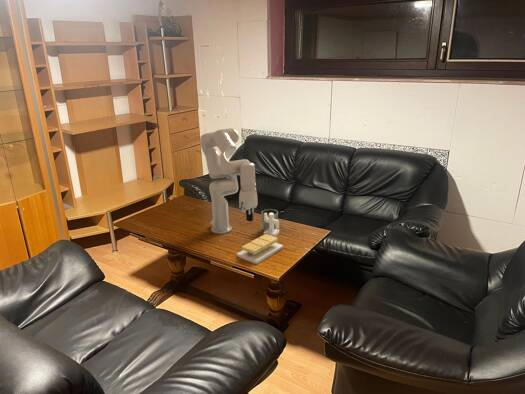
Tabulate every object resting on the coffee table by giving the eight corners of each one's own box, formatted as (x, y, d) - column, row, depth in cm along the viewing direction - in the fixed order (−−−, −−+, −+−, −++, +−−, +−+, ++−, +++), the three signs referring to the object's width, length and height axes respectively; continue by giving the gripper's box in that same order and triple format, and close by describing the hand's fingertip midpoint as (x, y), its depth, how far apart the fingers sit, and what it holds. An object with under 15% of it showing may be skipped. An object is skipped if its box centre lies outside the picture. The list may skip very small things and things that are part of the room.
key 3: (241, 249, 208) (241, 246, 207) (249, 245, 212) (249, 242, 211) (254, 254, 202) (254, 251, 201) (262, 250, 206) (261, 246, 206)
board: (236, 256, 209) (236, 249, 208) (264, 241, 226) (264, 235, 225) (256, 264, 201) (256, 257, 200) (283, 247, 217) (283, 241, 216)
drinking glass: (276, 234, 235) (276, 215, 231) (260, 232, 237) (259, 214, 232) (279, 227, 244) (279, 209, 240) (263, 226, 246) (263, 208, 242)
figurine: (276, 240, 226) (275, 216, 221) (261, 237, 230) (261, 214, 225) (281, 236, 232) (281, 212, 227) (267, 233, 236) (267, 210, 231)
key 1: (258, 240, 218) (258, 237, 217) (265, 236, 222) (265, 233, 221) (271, 244, 212) (271, 241, 211) (278, 240, 216) (278, 237, 216)
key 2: (250, 244, 213) (250, 241, 212) (257, 241, 217) (257, 237, 216) (263, 249, 207) (263, 246, 206) (270, 245, 211) (270, 242, 211)
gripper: (251, 182, 206) (253, 214, 212) (232, 189, 195) (234, 223, 201) (263, 184, 202) (264, 217, 207) (244, 191, 191) (245, 226, 196)
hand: (249, 220), depth 204 cm, fingers closed
